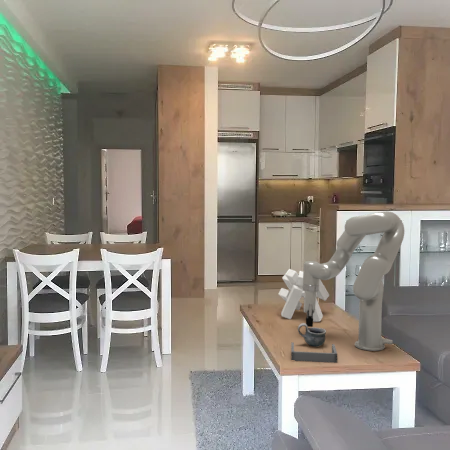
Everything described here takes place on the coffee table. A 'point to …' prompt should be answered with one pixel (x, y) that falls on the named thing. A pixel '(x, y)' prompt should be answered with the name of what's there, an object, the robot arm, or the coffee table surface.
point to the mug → (313, 335)
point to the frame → (314, 355)
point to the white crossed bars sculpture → (299, 295)
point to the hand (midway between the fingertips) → (309, 326)
